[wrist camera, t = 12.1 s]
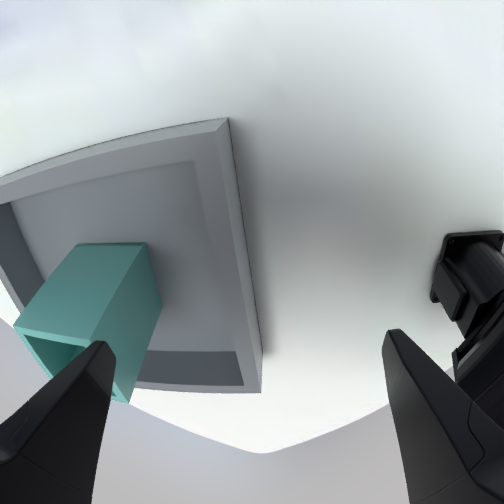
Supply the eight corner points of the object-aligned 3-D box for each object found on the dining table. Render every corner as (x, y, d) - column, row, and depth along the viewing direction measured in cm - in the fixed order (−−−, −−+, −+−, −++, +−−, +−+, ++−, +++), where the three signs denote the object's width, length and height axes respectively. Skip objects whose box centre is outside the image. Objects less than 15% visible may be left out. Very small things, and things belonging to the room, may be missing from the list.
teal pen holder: (145, 241, 20) (89, 339, 13) (162, 306, 24) (128, 403, 16) (77, 243, 21) (12, 325, 13) (100, 303, 24) (56, 386, 16)
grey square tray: (228, 117, 16) (215, 130, 13) (262, 351, 27) (261, 392, 23) (0, 177, 18) (-35, 201, 15) (82, 346, 29) (66, 377, 25)
